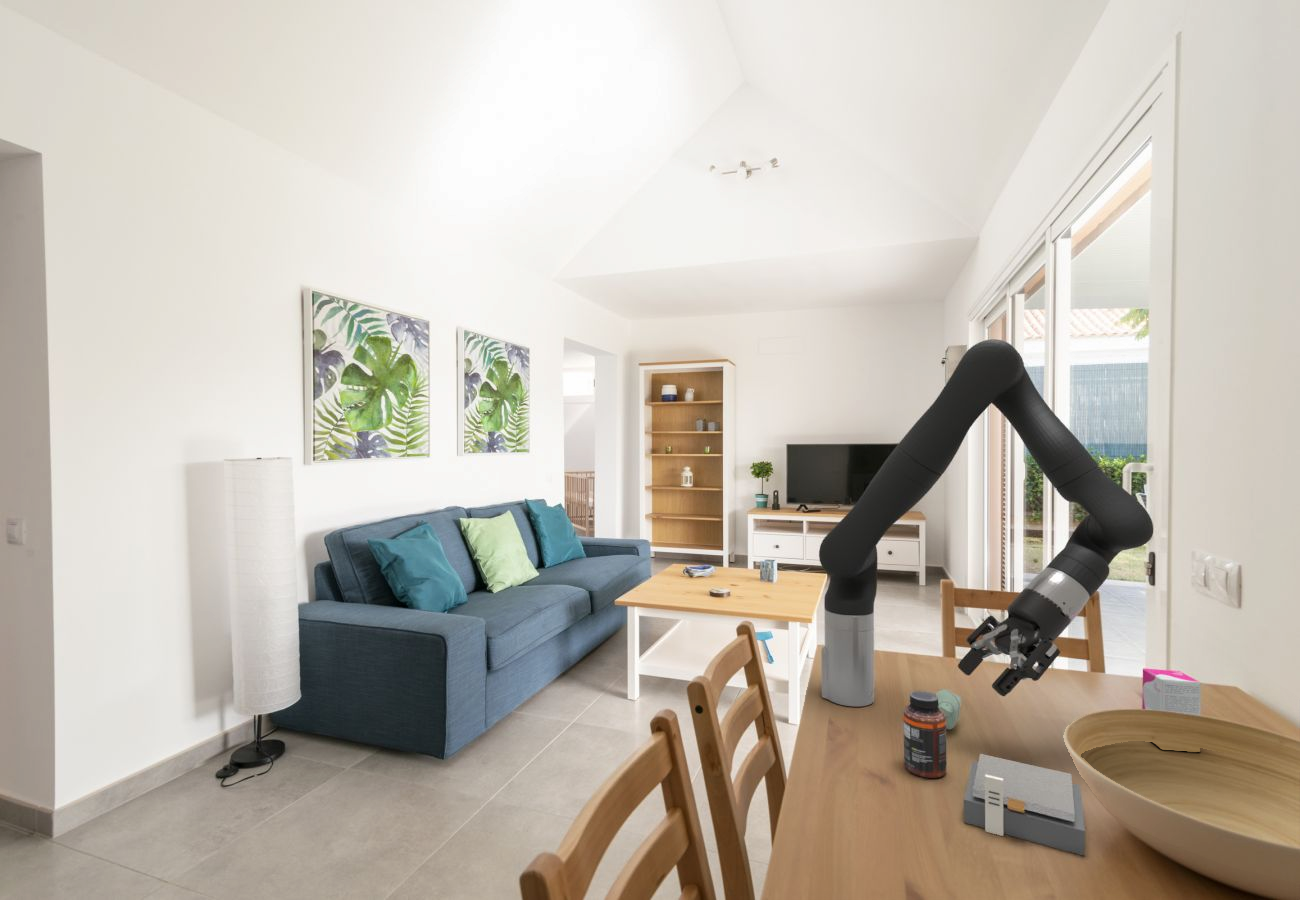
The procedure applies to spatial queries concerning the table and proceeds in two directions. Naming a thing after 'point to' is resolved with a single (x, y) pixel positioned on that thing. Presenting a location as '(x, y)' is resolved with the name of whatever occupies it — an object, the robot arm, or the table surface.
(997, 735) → the table surface
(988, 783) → the scale base
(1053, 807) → the scale pan
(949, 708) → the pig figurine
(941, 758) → the supplement bottle
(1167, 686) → the supplement box
